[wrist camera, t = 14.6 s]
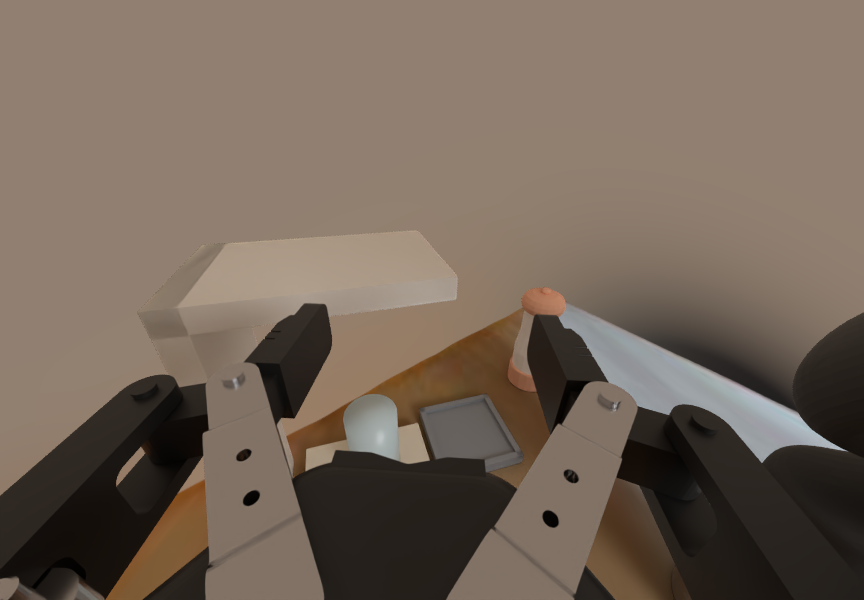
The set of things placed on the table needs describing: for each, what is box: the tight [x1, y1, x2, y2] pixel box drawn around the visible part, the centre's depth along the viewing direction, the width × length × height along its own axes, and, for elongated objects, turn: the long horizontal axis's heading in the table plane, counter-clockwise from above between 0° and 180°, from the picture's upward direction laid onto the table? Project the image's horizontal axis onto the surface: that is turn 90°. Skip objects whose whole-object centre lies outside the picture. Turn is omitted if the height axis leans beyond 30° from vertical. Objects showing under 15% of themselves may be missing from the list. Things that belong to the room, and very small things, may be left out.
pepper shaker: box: [508, 287, 566, 392], centre depth 56 cm, size 7×7×19 cm
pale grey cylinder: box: [343, 394, 400, 461], centre depth 39 cm, size 6×6×11 cm
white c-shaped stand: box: [138, 230, 458, 477], centre depth 34 cm, size 20×12×32 cm, turn 107°
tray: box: [419, 394, 524, 472], centre depth 48 cm, size 12×12×2 cm
